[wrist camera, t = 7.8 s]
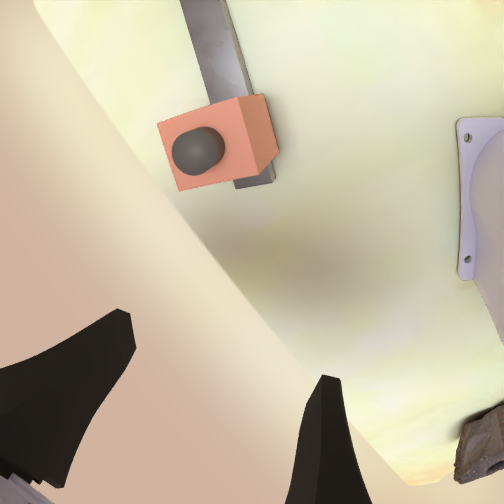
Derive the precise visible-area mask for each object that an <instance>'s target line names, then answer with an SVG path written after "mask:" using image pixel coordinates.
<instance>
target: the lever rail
mask: <svg viewBox="0 0 504 504" xmlns="http://www.w3.org/2000/svg"><path fill="white" fill-rule="evenodd" d="M180 3H181V6H182V10H183V13H184V16H185V20H186V23H187V26H188V30H189V33H190V36H191V40H192V43H193V47H194V50H195V53H196V57H197V60H198V63H199V67H200V70H201V73H202V77H203V80H204V83H205V87H206V90H207V94H208V97H209V100H210V104H211V105H212V104H215V103H218V102H221V101H225V100H228V99H232V98H235V97H241V96H248V95H254V94H253V90H252V87H251V83H250V80H249V76H248V73H247V69H246V66H245V63H244V59H243V56H242V53H241V49H240V46H239V43H238V39H237V36H236V33H235V30H234V27H233V23H232V20H231V17H230V14H229V11H228V8H227V5H226V2H225V0H180ZM275 178H276V176H275V172H274V168H273V164H272V161H271V162H270V163H269V164H268V165H267V166H266V167H265V168H264V169H263V171H262V172H261V173H260V174H259V175H254V176H249V177H244V178H239V179H234V180H233V181H234V185H235V188H236V189H241V188H246V187H252V186H257V185H263V184H269V183H272V182H273V181H274V179H275Z"/></svg>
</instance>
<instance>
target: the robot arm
mask: <svg viewBox="0 0 504 504" xmlns="http://www.w3.org/2000/svg"><path fill="white" fill-rule="evenodd" d="M456 129H457V138H458V149H459V162H460V183H461V229H460V250H459V264H458V275H459V277H460V279H461V280H465V281H466V280H473V279H474V281H475V283H476V285H477V287H478V289H479V291H480V293H481V295H482V297H483V299H484V302H485V304H486V306H487V308H488V310H489V313H490V315H491V317H492V319H493V322H494V324H495V327H496V329H497V331H498V334H499V336H500V339H501V341H502V343H503V345H504V117H470V118H461V119H459V120H458V122H457V125H456ZM466 133H468V134H469V136H470V137H469V140H468V141H466V142H465V141H464V135H465V134H466ZM466 256H470V257H469V258H468V259H467V260H464V259H465V257H466ZM135 350H136V344H135V339H134V333H133V328H132V322H131V317H130V313H127V312H125V311H122V310H120V309H115V310H114V311H112V312H110V313H109V314H107V315H105V316H104V317H102V318H101V319H99V320H97V321H96V322H94V323H93V324H91V325H89V326H88V327H86V328H85V329H83V330H81V331H80V332H78V333H76V334H75V335H73V336H71V337H70V338H68V339H66V340H65V341H63V342H61V343H59V344H57V345H55V346H54V347H52V348H50V349H48V350H46V351H44V352H42V353H40V354H38V355H36V356H33V357H31V358H29V359H26V360H24V361H21V362H19V363H15V364H13V365H10V366H7V367H4V368H1V369H0V504H55V503H53V502H52V501H50V500H49V499H48V498H46V497H45V496H44V495H42V494H41V493H40V492H38V491H37V490H35V489H34V488H33V487H32V486H30V483H31V482H32V480H34V481H35V482H36V483H38V484H41V482H42V480H44V481H46V482H47V483H49V484H50V485H52V486H53V487H55V488H63V487H64V485H65V482H66V478H67V475H68V472H69V469H70V466H71V464H72V461H73V458H74V456H75V453H76V451H77V449H78V446H79V444H80V442H81V440H82V437H83V435H84V433H85V431H86V429H87V427H88V425H89V424H90V422H91V419H92V418H93V416H94V414H95V413H96V411H97V409H98V408H99V407H100V405H101V404H102V402H103V401H104V399H105V398H106V396H107V395H108V394H109V392H110V391H111V389H112V388H113V387H114V385H115V384H116V382H117V381H118V379H119V378H120V376H121V375H122V373H123V372H124V371H125V369H126V367H127V365H128V364H129V362H130V360H131V358H132V356H133V354H134V352H135ZM285 504H372V502H371V499H370V497H369V494H368V492H367V489H366V487H365V484H364V481H363V479H362V476H361V472H360V469H359V466H358V463H357V459H356V455H355V453H354V448H353V444H352V440H351V436H350V432H349V427H348V422H347V417H346V412H345V407H344V401H343V394H342V386H341V380H340V379H339V378H335V377H331V376H327V375H322V376H321V378H320V380H319V382H318V383H317V385H316V387H315V389H314V391H313V393H312V394H311V397H310V398H309V400H308V402H307V403H306V407H305V411H304V414H303V418H302V422H301V426H300V430H299V437H298V443H297V450H296V456H295V462H294V468H293V473H292V479H291V484H290V488H289V492H288V495H287V498H286V501H285Z"/></svg>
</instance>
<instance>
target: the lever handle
mask: <svg viewBox="0 0 504 504" xmlns="http://www.w3.org/2000/svg"><path fill="white" fill-rule="evenodd" d="M157 126H158V129H159V133H160V136H161V139H162V142H163V145H164V148H165V151H166V154H167V157H168V160H169V163H170V166H171V169H172V172H173V175H174V178H175V181H176V184H177V187H178V190H179V191H184V190H188V189H192V188H197V187H201V186H206V185H210V184H215V183H219V182H224V181H229V180H234V179H239V178H244V177H249V176H254V175H259V174H260V173H261V172H262V171H263V169H264V168H265V167H266V166H267V165H268V164H269V163H270V162H271V161H272V159H273V158H274V157H275V156H276V155H277V154H278V153H279V151H278V147H277V143H276V139H275V135H274V131H273V128H272V124H271V120H270V116H269V113H268V109H267V105H266V102H265V98H264V94H256V95H248V96H241V97H235V98H232V99H228V100H225V101H221V102H218V103H215V104H212V105H208V106H205V107H202V108H199V109H196V110H193V111H190V112H187V113H184V114H181V115H179V116H176V117H173V118H170V119H167V120H165V121H162V122H159V123H157Z"/></svg>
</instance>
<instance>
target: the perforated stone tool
mask: <svg viewBox="0 0 504 504" xmlns="http://www.w3.org/2000/svg"><path fill="white" fill-rule="evenodd" d="M455 459H456V461H455V463H454V466H455V467H456V468H455V470H454V473H455V474H454V480H455V481H457V482H459V483H460V484H464V483H467V482H471V481H474V480H476V479H479V478H482V477H485V476H488V475H490V474H493V473H495V472H496V471H498V470H502V469H504V404H502V405H500V406H498V407H496V408H495V409H493V410H491V411H490V412H489V413H487V414H486V415H484V416H483V417H482V418H481V419H479V420H478V419H476V420H473V421H472V422H469V423H467V424H466V425H465V426H464V429H463V431H462V434H461V437H460V440H459V444H458V448H457V450H456V458H455Z"/></svg>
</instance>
